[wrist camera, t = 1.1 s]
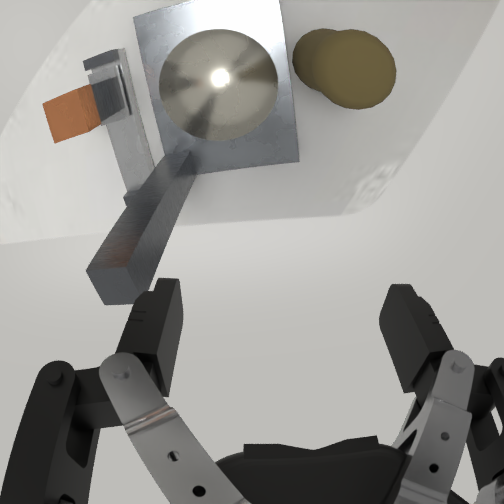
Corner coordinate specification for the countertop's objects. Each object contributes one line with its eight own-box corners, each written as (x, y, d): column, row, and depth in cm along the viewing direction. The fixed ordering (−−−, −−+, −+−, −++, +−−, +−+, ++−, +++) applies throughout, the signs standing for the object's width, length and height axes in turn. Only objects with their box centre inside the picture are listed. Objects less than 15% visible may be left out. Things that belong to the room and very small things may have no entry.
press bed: (139, 18, 22) (-1, 16, 7) (275, -10, 20) (293, -85, 6) (175, 172, 31) (104, 305, 17) (297, 156, 30) (329, 289, 15)
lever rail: (96, 58, 24) (82, 61, 22) (124, 48, 23) (111, 49, 21) (135, 193, 32) (126, 205, 30) (160, 189, 32) (153, 201, 30)
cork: (356, 28, 22) (407, 25, 13) (362, 91, 25) (411, 121, 17) (288, 30, 23) (302, 22, 14) (296, 94, 26) (314, 124, 17)
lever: (90, 74, 23) (39, 92, 17) (120, 64, 23) (73, 76, 16) (103, 123, 26) (58, 154, 20) (133, 115, 26) (92, 143, 19)
